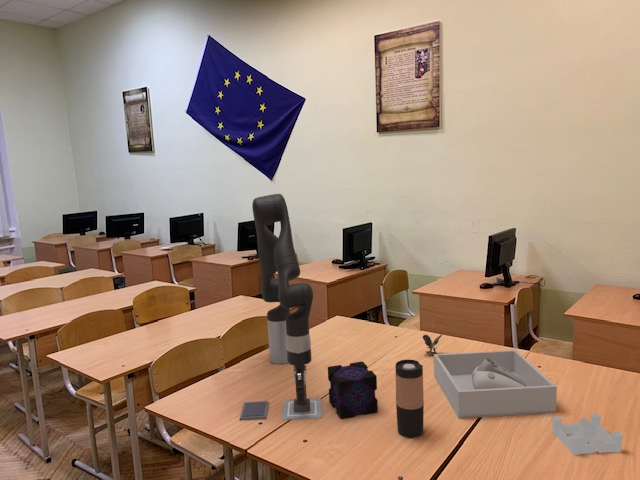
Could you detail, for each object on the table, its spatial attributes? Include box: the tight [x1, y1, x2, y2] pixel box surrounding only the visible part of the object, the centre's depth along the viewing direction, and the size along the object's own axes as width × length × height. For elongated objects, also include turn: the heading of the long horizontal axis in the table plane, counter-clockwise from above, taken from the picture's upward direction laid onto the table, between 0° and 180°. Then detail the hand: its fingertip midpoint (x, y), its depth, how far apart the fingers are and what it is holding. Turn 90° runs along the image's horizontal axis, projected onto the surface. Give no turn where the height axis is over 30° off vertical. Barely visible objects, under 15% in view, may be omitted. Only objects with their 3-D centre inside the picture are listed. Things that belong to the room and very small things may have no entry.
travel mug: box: [394, 359, 425, 439], centre depth 137 cm, size 8×8×20 cm
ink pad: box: [239, 400, 270, 421], centre depth 154 cm, size 10×8×1 cm
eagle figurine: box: [422, 333, 443, 357], centre depth 193 cm, size 8×7×9 cm
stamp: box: [293, 383, 311, 413], centre depth 154 cm, size 5×5×8 cm
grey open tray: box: [433, 349, 558, 419], centre depth 158 cm, size 29×29×8 cm
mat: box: [281, 398, 323, 421], centre depth 154 cm, size 12×12×1 cm
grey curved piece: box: [472, 358, 528, 390], centre depth 158 cm, size 16×17×11 cm
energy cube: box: [327, 361, 379, 420], centre depth 154 cm, size 12×12×12 cm
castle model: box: [551, 413, 624, 456], centre depth 128 cm, size 15×15×7 cm
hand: (301, 396), depth 154 cm, fingers open, 8 cm apart
